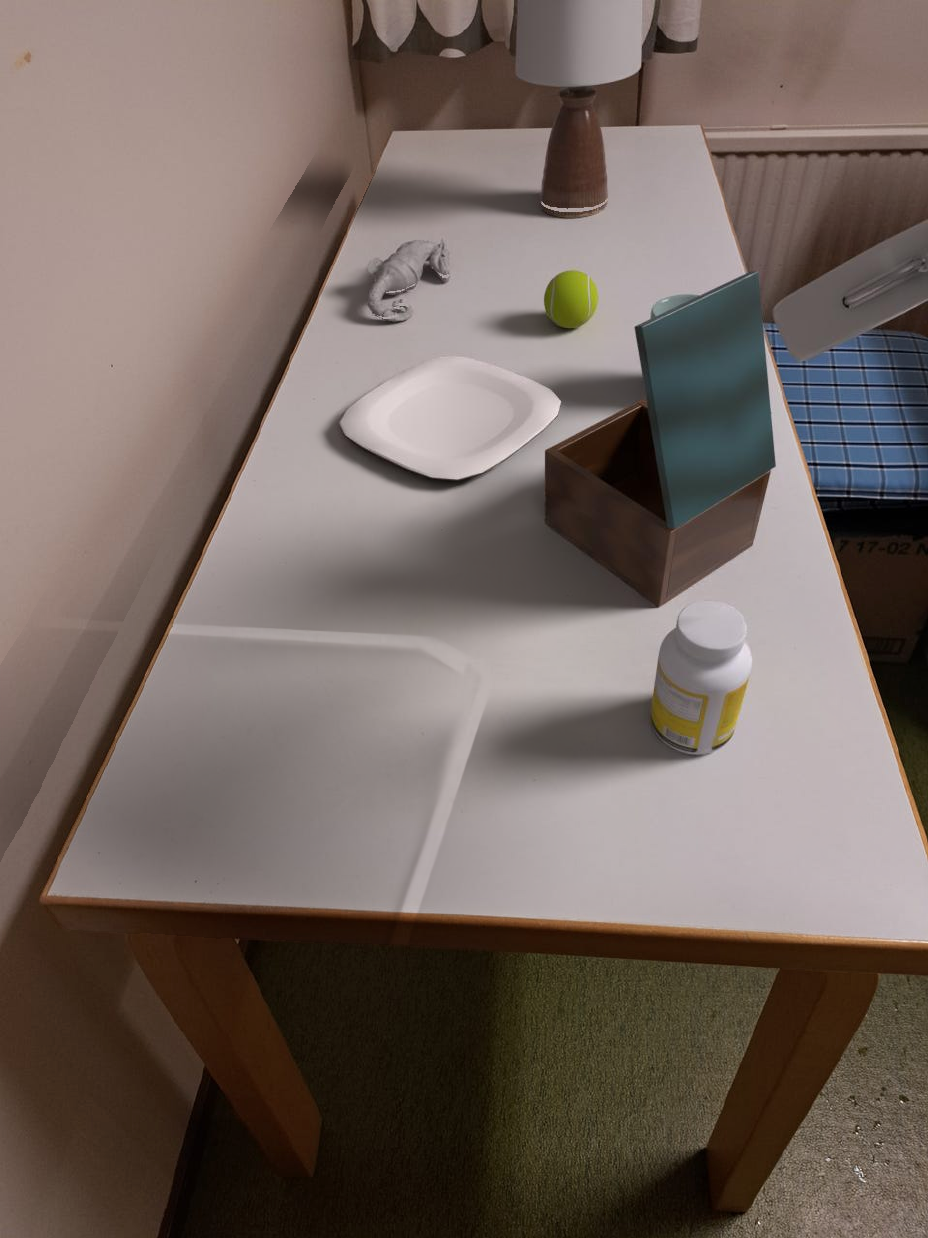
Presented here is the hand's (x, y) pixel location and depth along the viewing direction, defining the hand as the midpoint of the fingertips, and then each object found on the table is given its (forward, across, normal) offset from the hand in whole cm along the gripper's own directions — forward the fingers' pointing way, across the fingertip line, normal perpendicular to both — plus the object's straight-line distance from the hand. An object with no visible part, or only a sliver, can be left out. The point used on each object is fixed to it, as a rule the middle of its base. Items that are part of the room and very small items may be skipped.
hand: (822, 316), depth 55 cm
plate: (+48, -3, +9) cm, 49 cm away
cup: (+39, +21, 0) cm, 44 cm away
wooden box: (+28, 0, -10) cm, 30 cm away
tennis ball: (+54, +22, +15) cm, 60 cm away
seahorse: (+70, +12, +31) cm, 78 cm away
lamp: (+75, +50, +36) cm, 97 cm away
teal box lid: (+12, 0, -2) cm, 13 cm away
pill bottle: (+15, -14, -24) cm, 31 cm away
